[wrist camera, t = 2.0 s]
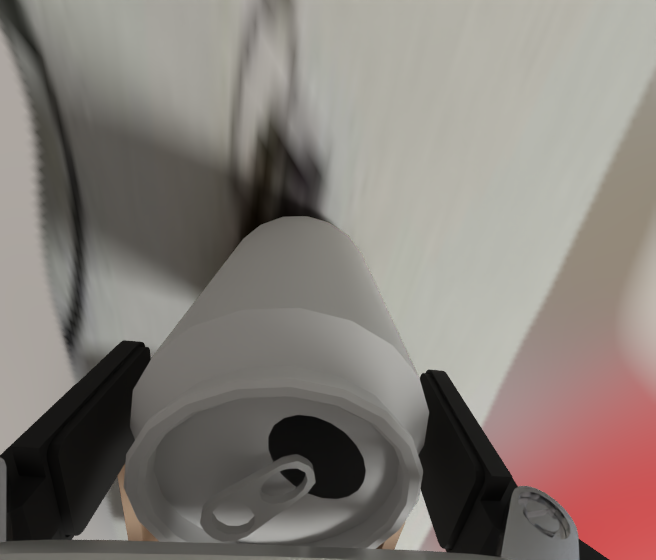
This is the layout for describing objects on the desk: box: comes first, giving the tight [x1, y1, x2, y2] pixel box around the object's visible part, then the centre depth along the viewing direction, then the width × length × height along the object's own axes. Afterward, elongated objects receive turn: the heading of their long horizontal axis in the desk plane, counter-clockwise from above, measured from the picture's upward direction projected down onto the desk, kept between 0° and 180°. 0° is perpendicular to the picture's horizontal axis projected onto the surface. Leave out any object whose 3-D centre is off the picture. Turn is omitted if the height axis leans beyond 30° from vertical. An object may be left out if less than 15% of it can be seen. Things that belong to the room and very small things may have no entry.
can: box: [124, 216, 429, 549], centre depth 12 cm, size 8×8×12 cm
